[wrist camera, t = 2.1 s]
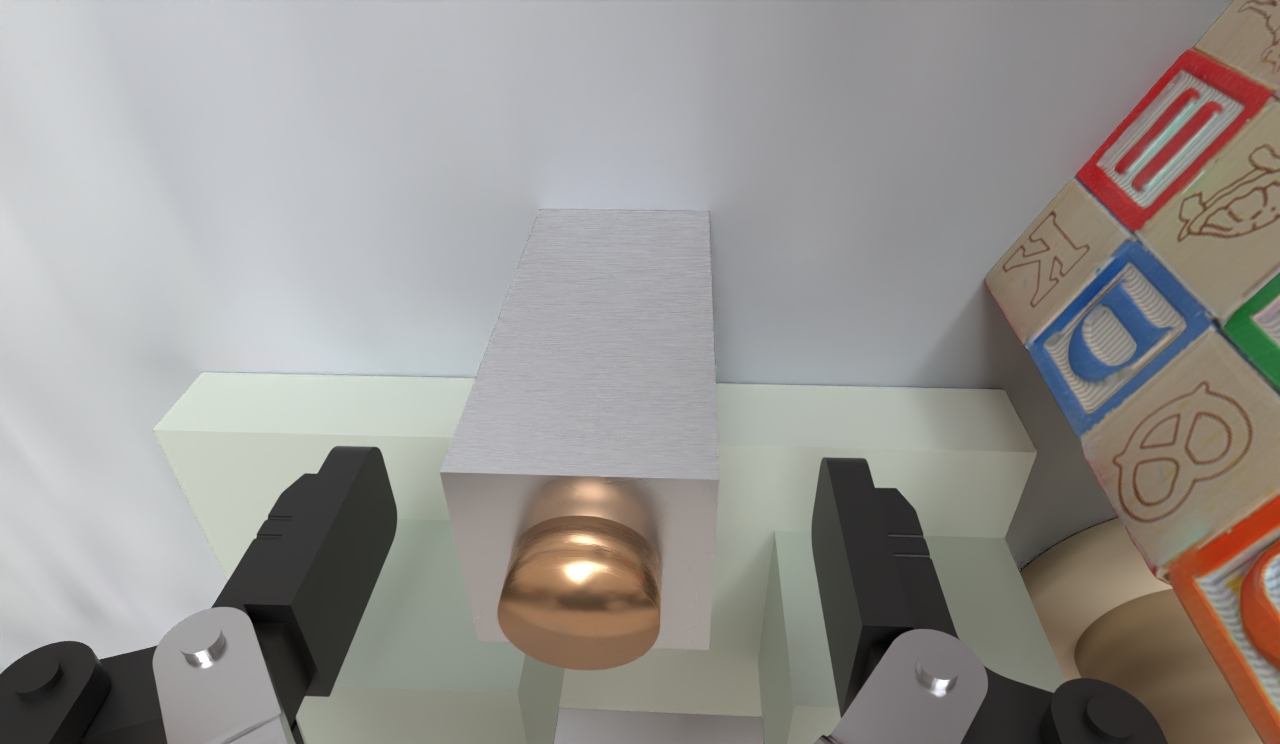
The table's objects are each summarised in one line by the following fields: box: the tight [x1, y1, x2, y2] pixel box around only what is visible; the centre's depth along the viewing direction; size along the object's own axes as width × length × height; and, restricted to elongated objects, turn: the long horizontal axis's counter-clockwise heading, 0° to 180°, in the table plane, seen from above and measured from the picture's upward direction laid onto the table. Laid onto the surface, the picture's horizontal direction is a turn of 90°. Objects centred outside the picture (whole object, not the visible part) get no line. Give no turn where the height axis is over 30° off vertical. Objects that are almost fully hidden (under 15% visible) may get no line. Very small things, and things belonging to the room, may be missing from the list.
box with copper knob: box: [440, 209, 719, 670], centre depth 16 cm, size 4×4×10 cm
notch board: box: [153, 372, 1066, 744], centre depth 22 cm, size 12×22×8 cm, turn 91°
